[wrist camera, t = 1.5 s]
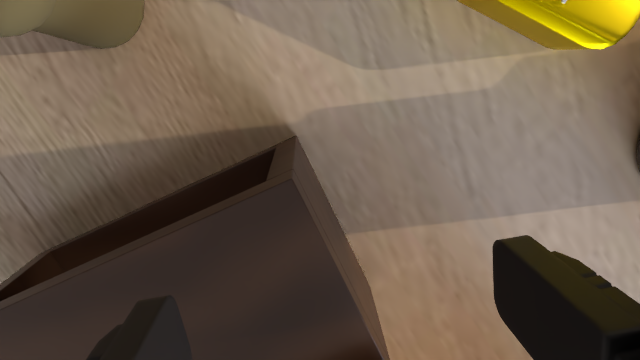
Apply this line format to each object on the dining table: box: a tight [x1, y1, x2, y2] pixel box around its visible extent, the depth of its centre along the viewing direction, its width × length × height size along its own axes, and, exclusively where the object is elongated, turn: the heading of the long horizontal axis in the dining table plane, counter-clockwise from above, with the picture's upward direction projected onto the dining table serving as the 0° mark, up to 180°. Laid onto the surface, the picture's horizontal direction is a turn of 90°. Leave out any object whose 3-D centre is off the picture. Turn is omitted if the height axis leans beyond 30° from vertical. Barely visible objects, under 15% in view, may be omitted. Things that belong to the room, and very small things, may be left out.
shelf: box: [0, 136, 390, 360], centre depth 25 cm, size 14×22×13 cm, turn 115°
